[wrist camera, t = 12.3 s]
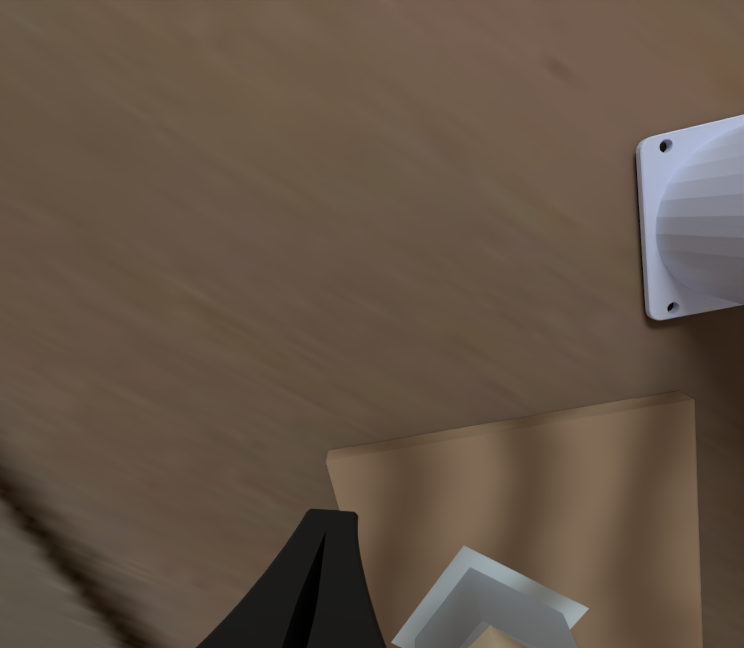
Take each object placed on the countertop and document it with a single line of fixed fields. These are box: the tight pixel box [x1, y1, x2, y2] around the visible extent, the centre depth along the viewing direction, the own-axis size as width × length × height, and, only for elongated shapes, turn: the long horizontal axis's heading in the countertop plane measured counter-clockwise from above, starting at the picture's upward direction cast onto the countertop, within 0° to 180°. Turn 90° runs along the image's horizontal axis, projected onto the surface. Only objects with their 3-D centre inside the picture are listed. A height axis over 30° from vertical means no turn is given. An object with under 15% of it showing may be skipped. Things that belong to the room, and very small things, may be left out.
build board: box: [326, 391, 703, 648], centre depth 22 cm, size 18×18×1 cm
